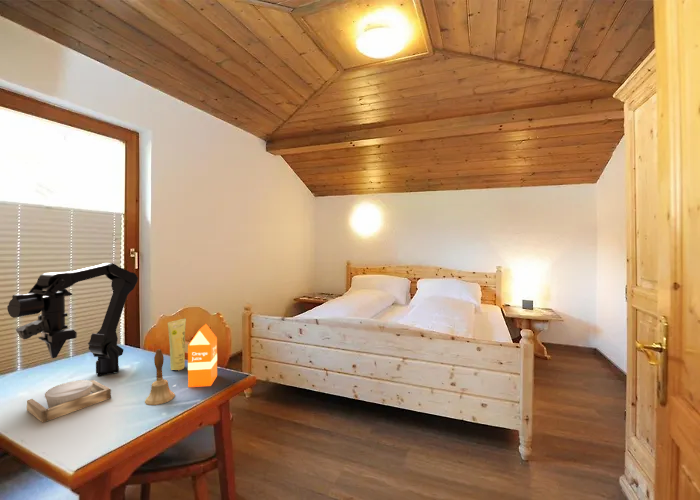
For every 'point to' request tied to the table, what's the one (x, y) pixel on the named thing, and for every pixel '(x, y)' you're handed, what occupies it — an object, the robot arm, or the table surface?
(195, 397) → the table surface
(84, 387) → the ramekin
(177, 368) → the tube
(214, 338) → the orange juice
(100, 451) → the table surface
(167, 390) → the hand bell
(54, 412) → the cradle
